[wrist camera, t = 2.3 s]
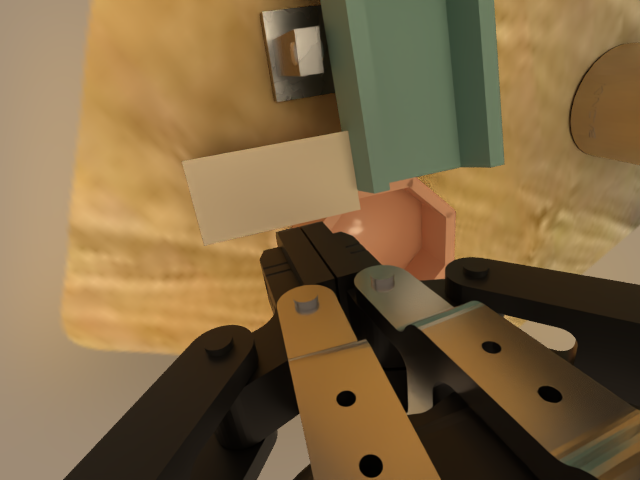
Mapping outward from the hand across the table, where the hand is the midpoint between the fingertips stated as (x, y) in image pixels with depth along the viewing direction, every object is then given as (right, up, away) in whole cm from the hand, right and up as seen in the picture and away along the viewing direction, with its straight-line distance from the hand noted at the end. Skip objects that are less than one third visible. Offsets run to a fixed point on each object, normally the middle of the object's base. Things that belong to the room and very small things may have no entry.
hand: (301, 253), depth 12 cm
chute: (0, +10, +8) cm, 13 cm away
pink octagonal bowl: (+4, +1, +19) cm, 19 cm away
